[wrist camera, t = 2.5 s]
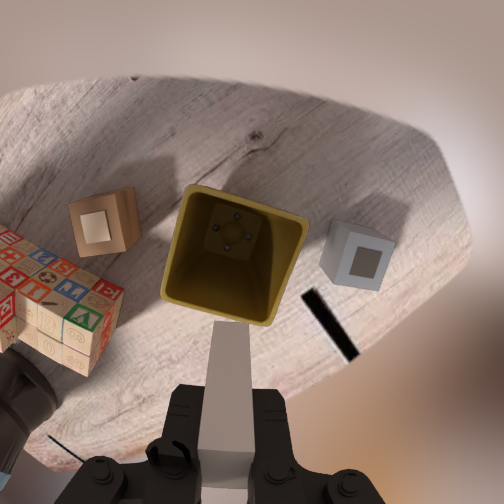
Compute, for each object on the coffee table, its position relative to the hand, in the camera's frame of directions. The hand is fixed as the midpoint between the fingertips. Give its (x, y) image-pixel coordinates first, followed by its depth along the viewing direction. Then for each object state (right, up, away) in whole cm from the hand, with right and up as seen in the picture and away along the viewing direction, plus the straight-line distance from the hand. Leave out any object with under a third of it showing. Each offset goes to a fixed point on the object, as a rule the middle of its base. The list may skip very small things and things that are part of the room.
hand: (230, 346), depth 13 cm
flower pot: (-1, +6, +16) cm, 17 cm away
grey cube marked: (+11, +5, +17) cm, 21 cm away
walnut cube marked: (-13, +8, +15) cm, 21 cm away
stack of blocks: (-24, +2, +16) cm, 29 cm away
